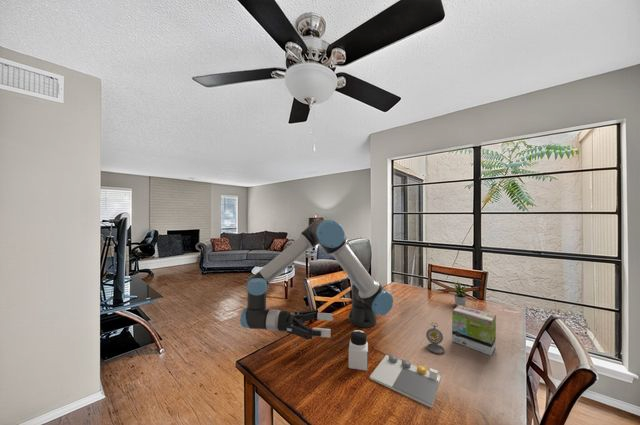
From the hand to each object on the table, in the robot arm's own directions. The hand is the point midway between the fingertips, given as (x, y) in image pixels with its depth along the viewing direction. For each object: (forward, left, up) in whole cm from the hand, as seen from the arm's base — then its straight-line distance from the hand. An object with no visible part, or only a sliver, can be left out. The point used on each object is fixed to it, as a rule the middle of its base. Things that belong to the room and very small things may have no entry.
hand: (331, 324), depth 90 cm
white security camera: (+9, +5, -15) cm, 18 cm away
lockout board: (+26, +8, -15) cm, 31 cm away
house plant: (+33, +99, -15) cm, 106 cm away
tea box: (+44, +49, -15) cm, 68 cm away
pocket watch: (+31, +35, -15) cm, 49 cm away
